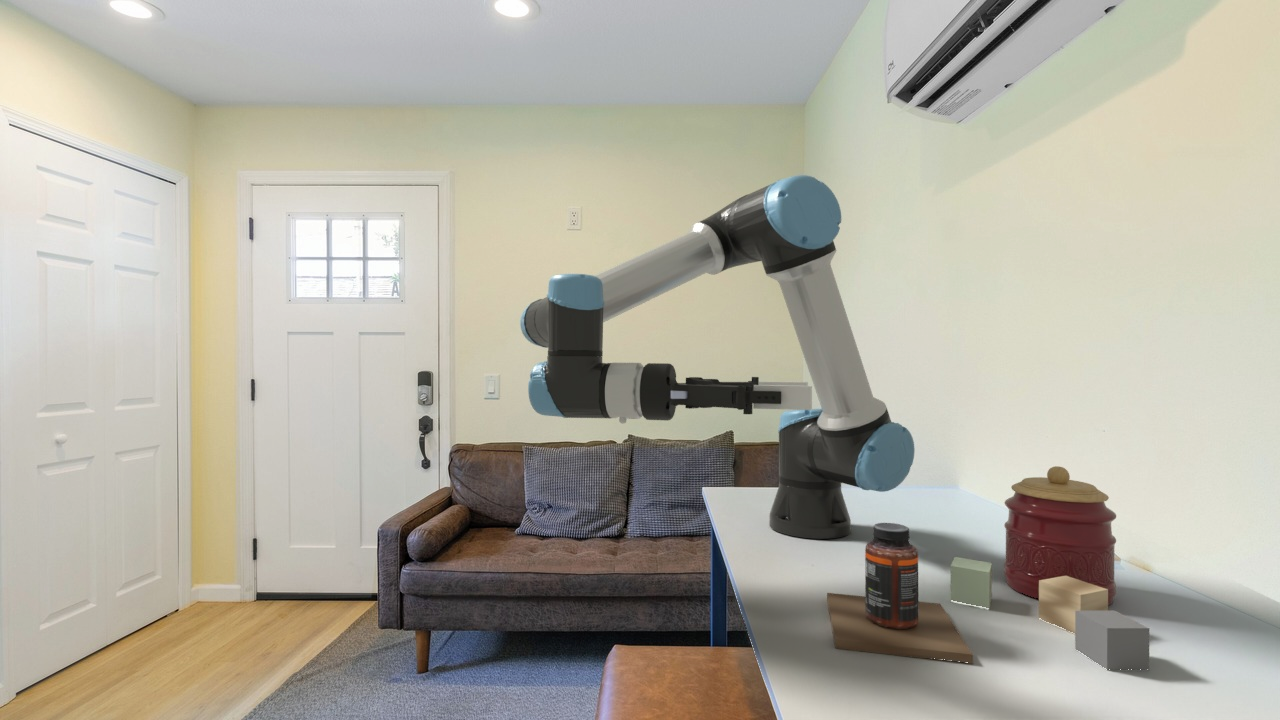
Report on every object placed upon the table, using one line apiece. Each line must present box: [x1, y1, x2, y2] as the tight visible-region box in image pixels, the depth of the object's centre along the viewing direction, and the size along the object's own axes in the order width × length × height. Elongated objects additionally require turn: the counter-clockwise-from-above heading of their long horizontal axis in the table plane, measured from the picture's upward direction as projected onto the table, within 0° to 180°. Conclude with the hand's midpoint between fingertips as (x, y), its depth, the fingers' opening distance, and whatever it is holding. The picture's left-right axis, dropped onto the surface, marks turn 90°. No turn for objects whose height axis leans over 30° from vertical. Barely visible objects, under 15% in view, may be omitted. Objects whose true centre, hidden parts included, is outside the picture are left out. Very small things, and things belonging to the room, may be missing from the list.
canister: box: [1003, 466, 1117, 606], centre depth 85 cm, size 13×13×18 cm
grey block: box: [1074, 610, 1150, 671], centre depth 65 cm, size 4×4×4 cm
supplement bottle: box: [864, 522, 920, 629], centre depth 72 cm, size 6×6×11 cm
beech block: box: [1038, 576, 1109, 634], centre depth 74 cm, size 5×5×5 cm
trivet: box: [826, 592, 974, 664], centre depth 72 cm, size 14×14×1 cm
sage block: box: [949, 556, 993, 609], centre depth 81 cm, size 4×4×5 cm
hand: (809, 394), depth 75 cm, fingers open, 13 cm apart
